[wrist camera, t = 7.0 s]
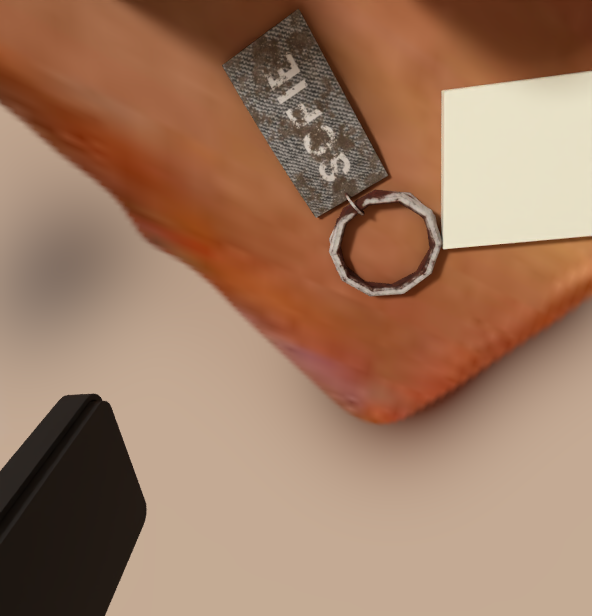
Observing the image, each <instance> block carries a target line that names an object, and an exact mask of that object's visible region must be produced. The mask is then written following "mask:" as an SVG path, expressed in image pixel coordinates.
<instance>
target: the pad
mask: <svg viewBox="0 0 592 616" xmlns="http://www.w3.org/2000/svg"><path fill="white" fill-rule="evenodd" d="M584 236H592V71H586V72H578V73H571V74H563V75H555V76H548V77H540V78H533V79H525V80H517V81H510V82H502V83H495V84H487V85H479V86H472V87H464V88H457V89H449V90H442V114H441V238H442V241H443V243H442V245H441V246H442V248H443V249H451V248H462V247H473V246H484V245H495V244H506V243H517V242H528V241H539V240H550V239H562V238H573V237H584Z"/></svg>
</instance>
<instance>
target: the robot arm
mask: <svg viewBox="0 0 592 616" xmlns="http://www.w3.org/2000/svg"><path fill="white" fill-rule="evenodd" d="M145 518H146V502H145V499H144V497H143V494H142V491H141V488H140V485H139V483H138V480H137V477H136V474H135V472H134V469H133V466H132V463H131V460H130V458H129V455H128V452H127V449H126V447H125V444H124V441H123V438H122V435H121V433H120V430H119V427H118V424H117V422H116V419H115V416H114V413H113V410H112V408H111V406H110V404H109V403H108V402H107V401H102V399H101V397H100V396H99V395H97V394H80V395H67V396H64V397H62V398H61V399H60V400H59V401H58V402H57V404H56V405H55V406H54V407H53V408H52V409H51V411H50V412H49V413H48V414H47V415H46V417H45V418H44V419H43V420H42V421H41V423H40V424H39V425H38V426H37V428H36V429H35V430H34V431H33V432H32V433H31V435H30V436H29V437H28V438H27V440H26V441H25V442H24V443H23V444H22V445H21V447H20V448H19V449H18V451H17V452H16V453H15V454H14V455H13V456H12V458H11V459H10V460H9V461H8V462H7V464H6V465H5V466H4V467H3V468H2V470H1V471H0V616H105V614H106V612H107V609H108V607H109V605H110V602H111V600H112V598H113V595H114V593H115V591H116V588H117V586H118V584H119V581H120V579H121V576H122V574H123V572H124V569H125V567H126V565H127V562H128V560H129V558H130V555H131V553H132V551H133V548H134V546H135V544H136V541H137V539H138V536H139V534H140V532H141V529H142V527H143V525H144V522H145Z"/></svg>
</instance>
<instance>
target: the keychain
mask: <svg viewBox="0 0 592 616" xmlns="http://www.w3.org/2000/svg"><path fill="white" fill-rule="evenodd" d="M222 66H223V68H224V70H225V71H226V73H227V75H228V77H229V78H230V80H231V82H232V84H233V85H234V87H235V89H236V91H237V92H238V94H239V96H240V97H241V99H242V101H243V103H244V104H245V106H246V108H247V110H248V111H249V113H250V114H251V116H252V118H253V119H254V121H255V123H256V124H257V126H258V128H259V129H260V131H261V132H262V134H263V136H264V137H265V139H266V141H267V142H268V144H269V146H270V147H271V149H272V150H273V152H274V154H275V155H276V157H277V158H278V160H279V162H280V163H281V165H282V166H283V168H284V170H285V171H286V173H287V174H288V176H289V178H290V179H291V181H292V182H293V184H294V186H295V187H296V189H297V190H298V192H299V193H300V195H301V196H302V198H303V199H304V201H305V202H306V204H307V205H308V207H309V208H310V210H311V211H312V213H313V214H314V216H315V217H316V218H317V217H318V216H320V215H322V214H323V213H325V212H327V211H329V210H330V209H332V208H334V207H335V206H337V205H339V204H341V203H342V202H344V201H346V200H348V201H349V202H350V204H349V205H348V206H346V207H344V208H343V210H342V212H341V214H340V216H339V218H338V219H337V221H336V225H335V227H334V229H333V232H332V234H331V236H330V238H329V240H330V244H331V246H330V250H329V253H330V255H331V257H332V259H333V262H334V264H335V266H336V270H337V271H338V273H339V275H340V277H341V279H342V281H344V282H346V283H347V284H349V285H351V286H353V287H355V288H356V289H358V290H360V291H362V292H363V293H365V294H367V295H369V296H380V295H394V294H404V293H406V292H407V291H408V290H410V289H411V288H412V287H414V286H415V285H417V284H418V283H419V282H421V281H422V280H423V279H425V278H426V277H428V276H429V275H430V274H431V273H432V271H433V268H434V265H435V262H436V259H437V257H438V254H439V251H440V248H441V245H442V243H443V241H442V238H441V235H440V233H439V230H438V227H437V223H436V216H435V215H434V214H433V212H432V210H431V209H429V208H427V207H426V206H424V205H423V204H422V203H421V202H420V201H419V200H418V199H417V198H416V197H414V196H413V195H412V194H411V193H406V192H394V191H382V190H373V191H372V192H370V193H368V194H367V195H365V196H363V197H361V198H360V199H358V200H356V201H355V202H352V201H351V199H350V198H351V197H353V196H354V195H356V194H358V193H359V192H361V191H363V190H364V189H366V188H368V187H370V186H371V185H373V184H375V183H376V182H378V181H380V180H382V179H383V178H385V177H387V176H388V174H387V172H386V171H385V169H384V167H383V165H382V163H381V161H380V159H379V157H378V156H377V154H376V152H375V150H374V148H373V147H372V145H371V143H370V141H369V139H368V137H367V135H366V134H365V132H364V130H363V128H362V126H361V124H360V122H359V120H358V119H357V117H356V115H355V113H354V111H353V109H352V107H351V106H350V104H349V102H348V100H347V98H346V96H345V94H344V92H343V91H342V89H341V87H340V85H339V83H338V81H337V79H336V78H335V76H334V74H333V72H332V70H331V68H330V66H329V64H328V63H327V61H326V59H325V57H324V55H323V53H322V51H321V49H320V48H319V46H318V44H317V42H316V40H315V38H314V36H313V34H312V32H311V30H310V29H309V27H308V25H307V23H306V21H305V19H304V17H303V16H302V14H301V12H300V10H299V9H297V10H296V11H295V12H293V13H292V14H291V15H289V16H288V17H287V18H285V19H284V20H283V21H281V22H280V23H279V24H277V25H276V26H275V27H273V28H272V29H271V30H269V31H268V32H266V33H265V34H264V35H262V36H261V37H260V38H258V39H257V40H256V41H254V42H253V43H252V44H250V45H249V46H248V47H246V48H245V49H244V50H242V51H241V52H240V53H238V54H237V55H236V56H234V57H233V58H232V59H230V60H229V61H227V62H226V63H225V64H223V65H222ZM397 202H399V203H400V204H402V205H404V206H405V207H407V208H409V209H410V210H412V211H414V212H415V213H417V214H419V215H420V216H421V217H422V218H423V219H424V221H425V224H426V227H427V232H428V239H429V246H430V248H429V250H428V252H427V253H426V255H425V257H424V259H423V260H422V262H421V264H420V266H419V268H418V269H417V271H416V272H414V273H412V274H410V275H408V276H407V277H405V278H403V279H401V280H399V281H397V282H395V283H393V284H385V283H374V282H364V281H363V280H362V279H361V278H360V277H358V276H357V275H356V274H355V273H354V272H352V271H351V270H350V269H349V268H348V267H346V265H345V263H344V259H343V255H342V250H341V246H340V245H341V241H342V237H343V234H344V230H345V226H346V224H347V223H348V222H349V221H350V220H351V219H353V218H354V217H355V216H356V215H357V214H361V215H362V216H363V215H364V211H363V209H365V208H366V207H367V206H368V205H376V204H387V203H397Z"/></svg>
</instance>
